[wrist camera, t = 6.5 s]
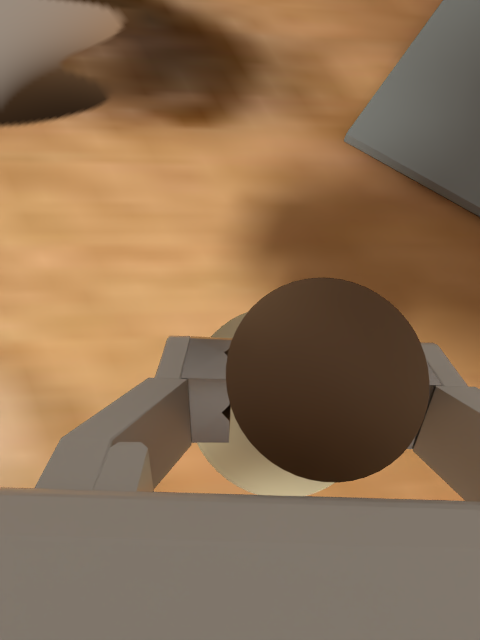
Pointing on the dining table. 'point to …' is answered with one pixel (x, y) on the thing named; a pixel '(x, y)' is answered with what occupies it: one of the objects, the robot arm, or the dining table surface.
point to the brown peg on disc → (318, 388)
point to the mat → (432, 108)
